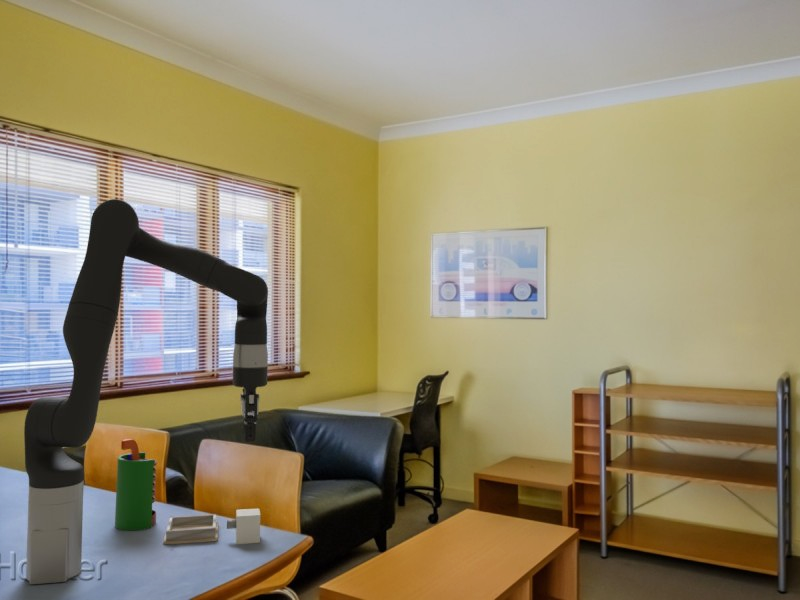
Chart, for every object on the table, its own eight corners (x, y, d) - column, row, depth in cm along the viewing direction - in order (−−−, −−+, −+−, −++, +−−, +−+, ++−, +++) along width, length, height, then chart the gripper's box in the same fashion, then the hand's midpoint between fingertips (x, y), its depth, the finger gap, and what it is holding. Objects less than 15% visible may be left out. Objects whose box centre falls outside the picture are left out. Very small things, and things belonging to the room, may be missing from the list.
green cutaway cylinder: (164, 524, 153) (166, 439, 154) (126, 533, 147) (129, 444, 147) (144, 515, 160) (146, 433, 161) (107, 523, 154) (109, 437, 154)
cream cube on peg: (259, 542, 143) (260, 515, 143) (226, 545, 141) (227, 517, 141) (258, 535, 148) (259, 508, 148) (226, 537, 146) (227, 510, 146)
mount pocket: (217, 540, 143) (217, 528, 143) (163, 544, 140) (163, 532, 140) (218, 524, 154) (218, 513, 154) (167, 527, 151) (167, 516, 151)
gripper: (270, 367, 140) (268, 443, 140) (265, 361, 154) (264, 431, 153) (233, 367, 138) (232, 444, 138) (232, 362, 152) (230, 432, 151)
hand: (249, 437), depth 145 cm, fingers open, 8 cm apart
